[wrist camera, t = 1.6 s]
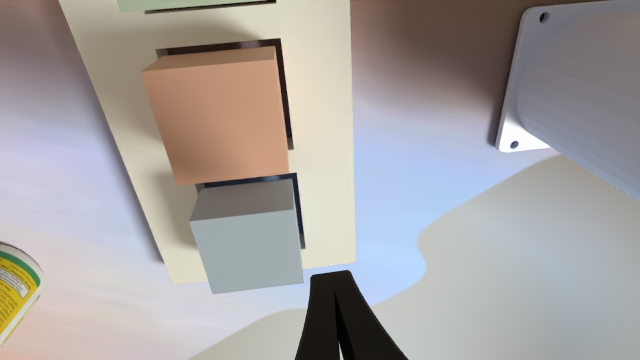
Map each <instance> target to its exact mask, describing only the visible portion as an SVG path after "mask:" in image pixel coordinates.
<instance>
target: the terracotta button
mask: <svg viewBox="0 0 640 360" xmlns="http://www.w3.org/2000/svg"><path fill="white" fill-rule="evenodd" d="M140 74H141V77H142V80H143V83H144V86H145V89H146V92H147V95H148V98H149V101H150V104H151V107H152V110H153V113H154V116H155V119H156V122H157V125H158V128H159V132H160V135H161V138H162V141H163V144H164V147H165V150H166V153H167V156H168V159H169V162H170V165H171V168H172V171H173V174H174V177H175V180H176V183H177V186H180V185H189V184H198V183H207V182H216V181H225V180H235V179H244V178H253V177H262V176H271V175H280V174H289V160H288V144H287V136H286V128H285V120H284V112H283V105H282V97H281V89H280V81H279V73H278V66H277V58H276V50H275V46H268V47H257V48H246V49H235V50H224V51H213V52H202V53H191V54H180V55H169V56H162V57H161V58H160V59H158V60H157V61H155V62H154V63H152V64H151V65H149V66H148V67H146V68H145V69H143V70H142V71H140Z"/></svg>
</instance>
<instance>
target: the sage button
mask: <svg viewBox="0 0 640 360" xmlns="http://www.w3.org/2000/svg"><path fill="white" fill-rule="evenodd" d="M251 1H263V0H117V3H118V6H119V9H120V12H133V11H144V10H156V9H168V8H180V7H192V6H204V5H216V4H228V3H239V2H251Z"/></svg>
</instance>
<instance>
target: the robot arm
mask: <svg viewBox="0 0 640 360" xmlns="http://www.w3.org/2000/svg"><path fill="white" fill-rule="evenodd" d="M542 13H544V19H543V20H542V21H541V22H540V21H539V18H540V16H541V14H542ZM513 141H515V143H514V144H513V145H512V146H510V145H511V143H512V142H513ZM495 147H496V149H497V150H498V151H500V152H501V153H507V152H516V151H525V150H534V149H543V148H554V149H555V150H557V151H558V152H560V153H562V154H563V155H565V156H567V157H568V158H570V159H571V160H573V161H574V162H576V163H578V164H579V165H581V166H582V167H584V168H586V169H587V170H589V171H590V172H592V173H594V174H595V175H597V176H598V177H600V178H602V179H603V180H605V181H606V182H608V183H610V184H611V185H613V186H614V187H616V188H618V189H619V190H621V191H622V192H624V193H625V194H627V195H629V196H630V197H632V198H633V199H635V200H637V201H638V202H640V0H605V1H594V2H583V3H572V4H560V5H549V6H538V7H531V8H529V9H527V10H526V11H525V12H524V13H523V15H522V18H521V22H520V27H519V31H518V36H517V41H516V46H515V51H514V56H513V61H512V66H511V70H510V75H509V80H508V85H507V90H506V95H505V100H504V104H503V109H502V114H501V119H500V124H499V129H498V134H497V139H496V143H495ZM339 344H340V348H341V352H342V355H343V359H344V360H408V358H407V357H406V356H405V355H404V354H403V352H402V351H401V350H400V349H399V348H398V346H397V345H396V344H395V342H394V341H393V340H392V338H391V337H390V336H389V334H388V333H387V332H386V331H385V329H384V328H383V326H382V325H381V324H380V322H379V321H378V319H377V318H376V316H375V315H374V313H373V312H372V310H371V309H370V307H369V305H368V304H367V302H366V301H365V299H364V297H363V295H362V294H361V292H360V290H359V288H358V286H357V285H356V283H355V280H354V278H353V276H352V274H351V272H350V271H348V270H344V271H337V272H330V273H323V274H316V275H313V276H312V277H310V296H309V303H308V309H307V314H306V319H305V323H304V328H303V332H302V336H301V339H300V343H299V347H298V350H297V354H296V357H295V360H340V352H339Z"/></svg>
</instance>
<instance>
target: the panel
mask: <svg viewBox="0 0 640 360" xmlns="http://www.w3.org/2000/svg"><path fill="white" fill-rule="evenodd" d="M59 3H60V5H61V8H62V10H63V13H64V15H65V18H66V20H67V23H68V25H69V28H70V30H71V32H72V35H73V37H74V40H75V42H76V45H77V47H78V50H79V52H80V55H81V57H82V60H83V62H84V65H85V67H86V70H87V72H88V75H89V77H90V80H91V82H92V85H93V87H94V90H95V92H96V94H97V97H98V99H99V102H100V104H101V107H102V109H103V112H104V114H105V117H106V119H107V122H108V124H109V127H110V129H111V132H112V134H113V137H114V139H115V142H116V144H117V147H118V149H119V152H120V154H121V156H122V159H123V161H124V164H125V166H126V169H127V171H128V174H129V176H130V179H131V181H132V184H133V186H134V189H135V191H136V194H137V196H138V199H139V201H140V204H141V206H142V209H143V211H144V214H145V216H146V218H147V221H148V223H149V226H150V228H151V231H152V233H153V236H154V238H155V241H156V243H157V246H158V248H159V251H160V253H161V256H162V258H163V261H164V263H165V266H166V268H167V271H168V273H169V276H170V278H171V280H172V283H173V285H177V284H185V283H194V282H202V281H208V278H207V275H206V272H205V269H204V266H203V263H202V260H201V257H200V254H199V251H198V248H197V244H196V241H195V238H194V235H193V232H192V229H191V226H190V223H189V220H190V218H191V215H192V212H193V209H194V207H195V204H196V201H197V199H198V196H199V193H200V191H201V189H202V188H205V184H204V183H198V184H189V185H180V186H177V183H176V180H175V177H174V174H173V171H172V168H171V165H170V162H169V159H168V156H167V153H166V150H165V147H164V144H163V141H162V138H161V135H160V132H159V128H158V125H157V122H156V119H155V116H154V113H153V110H152V107H151V104H150V101H149V98H148V95H147V92H146V89H145V86H144V83H143V80H142V77H141V74H140V71H142V70H143V69H145V68H146V67H148V66H149V65H151V64H152V63H154V62H155V61H157V60H158V59H160V58H161V57H162V56H169V55H168V52H167V48H174V47H185V46H196V45H208V44H219V43H230V42H241V41H252V40H263V39H274V38H281V45H282V53H283V61H284V70H285V78H286V86H287V95H288V103H289V112H290V120H291V128H292V137H293V138H287V144H288V160H289V173H296V172H297V179H298V187H299V196H300V204H301V212H302V221H303V229H304V233H300V234H299V237H300V245H301V256H302V269H307V268H315V267H323V266H331V265H339V264H347V263H355V262H356V245H355V202H354V158H353V115H352V71H351V28H350V0H276V1H273V2H261V3H250V4H238V5H226V6H214V7H202V8H190V9H178V10H167V11H156V10H144V11H133V12H120V9H119V6H118V3H117V0H59Z"/></svg>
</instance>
